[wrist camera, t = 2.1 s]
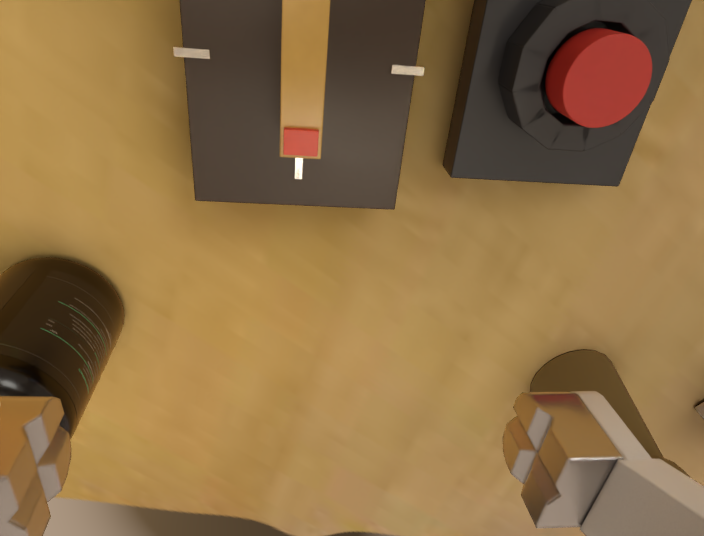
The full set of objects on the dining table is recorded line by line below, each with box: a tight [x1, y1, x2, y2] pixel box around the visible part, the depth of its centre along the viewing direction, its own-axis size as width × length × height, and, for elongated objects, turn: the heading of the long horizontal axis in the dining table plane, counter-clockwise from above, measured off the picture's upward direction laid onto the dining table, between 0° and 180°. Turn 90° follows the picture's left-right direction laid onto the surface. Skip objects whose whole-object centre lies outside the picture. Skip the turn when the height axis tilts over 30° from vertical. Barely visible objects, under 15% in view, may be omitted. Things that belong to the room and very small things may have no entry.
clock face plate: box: [173, 0, 426, 209], centre depth 22 cm, size 13×10×3 cm
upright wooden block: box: [280, 0, 330, 159], centre depth 19 cm, size 6×2×3 cm, turn 175°
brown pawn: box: [530, 350, 690, 477], centre depth 31 cm, size 6×6×11 cm
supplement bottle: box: [0, 257, 124, 439], centre depth 24 cm, size 7×7×12 cm
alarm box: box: [443, 0, 692, 186], centre depth 23 cm, size 11×9×4 cm
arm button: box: [545, 28, 652, 128], centre depth 21 cm, size 4×4×2 cm
